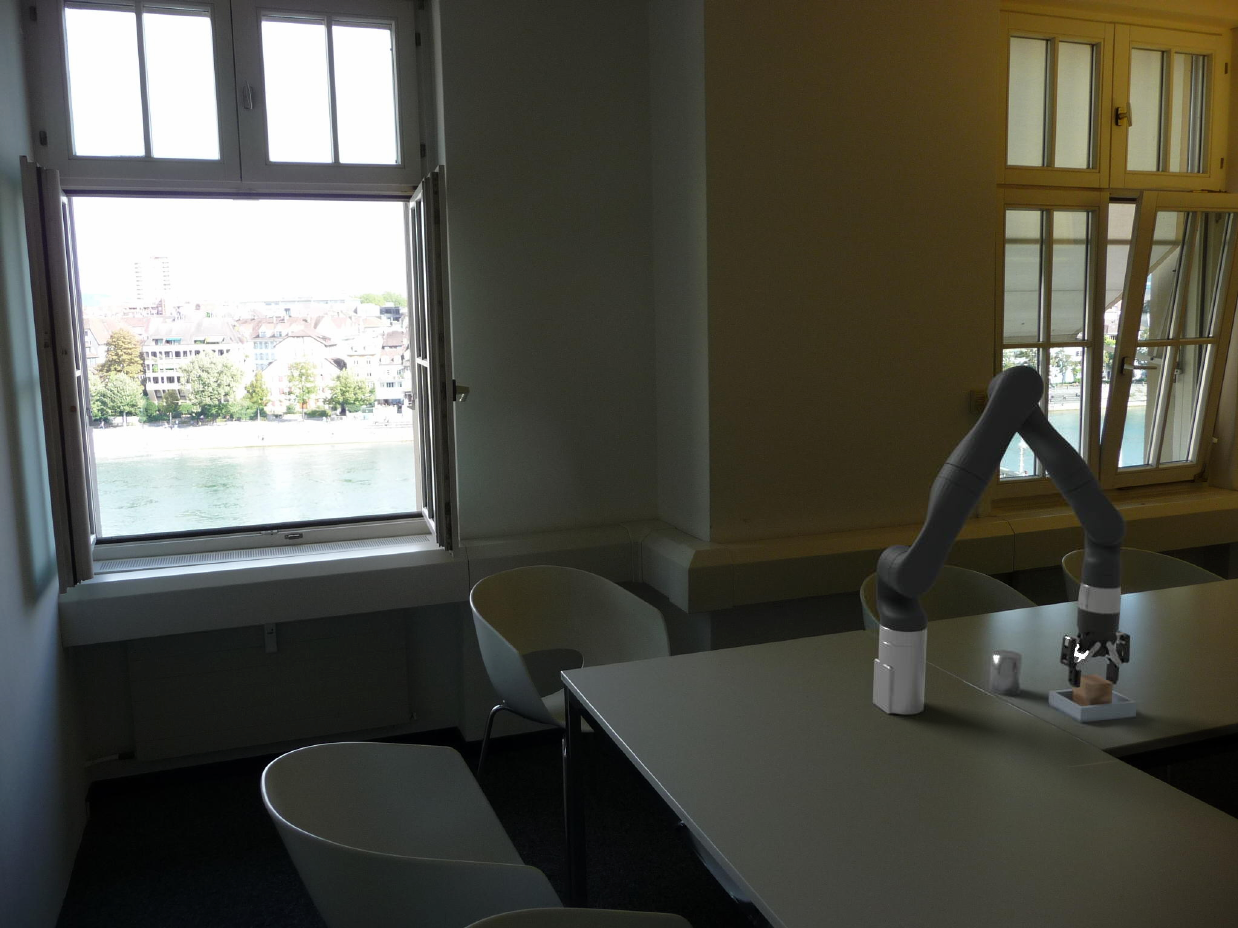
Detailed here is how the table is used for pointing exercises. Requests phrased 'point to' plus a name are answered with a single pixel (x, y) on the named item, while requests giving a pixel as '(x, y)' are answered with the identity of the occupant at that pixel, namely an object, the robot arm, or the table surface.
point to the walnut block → (1093, 691)
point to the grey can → (1005, 672)
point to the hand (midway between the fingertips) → (1093, 684)
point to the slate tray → (1092, 707)
